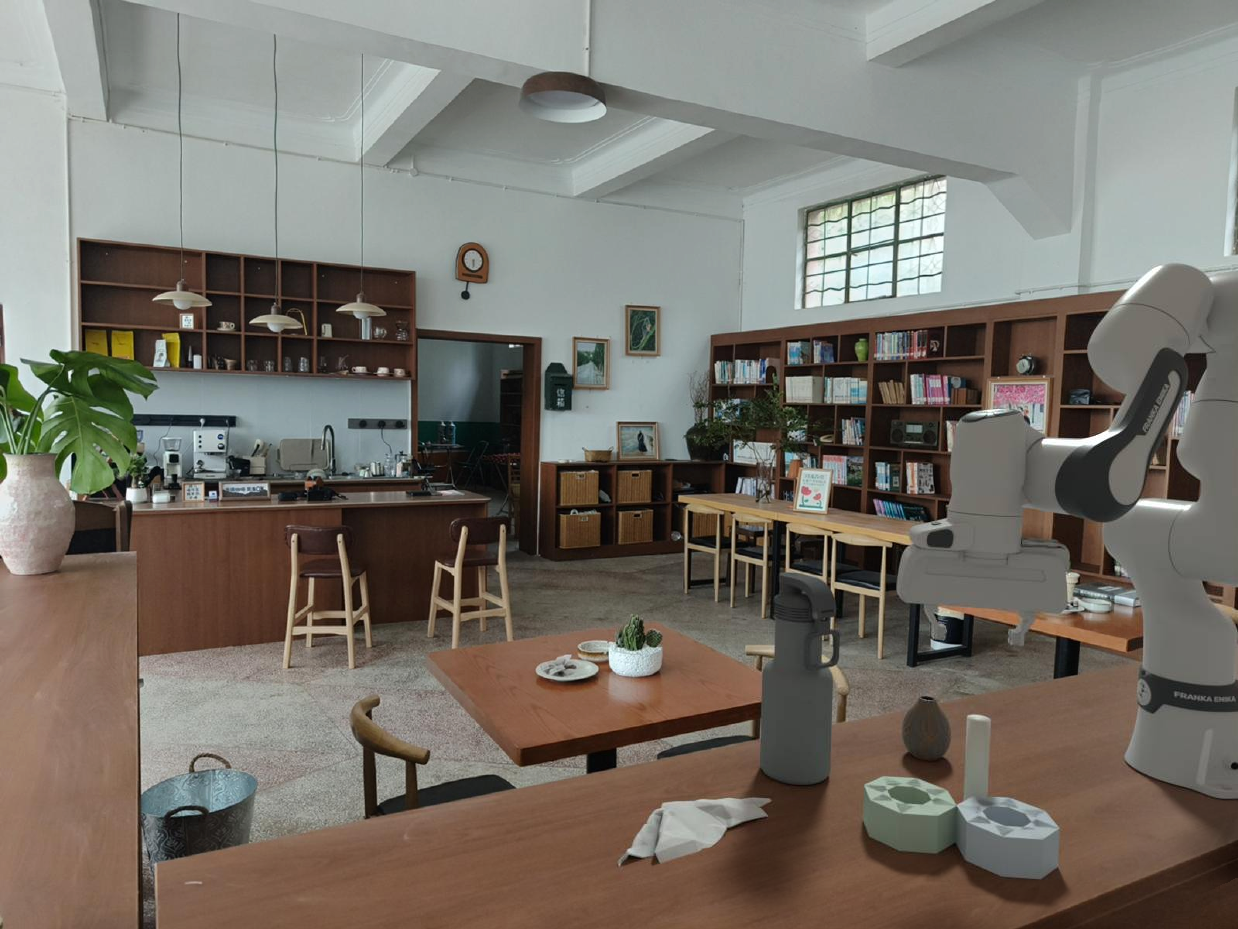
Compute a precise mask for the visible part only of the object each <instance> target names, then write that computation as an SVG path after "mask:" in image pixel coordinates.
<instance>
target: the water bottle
mask: <svg viewBox="0 0 1238 929" xmlns="http://www.w3.org/2000/svg"><path fill="white" fill-rule="evenodd" d="M778 582H779V583H780V593H778V594H776V595H775V596H774V598H773V602H774V614H773V619H774V621H775V622H774V623H775V625H774V650H773V651H774V657H773V658H772V659H770V660H769V661H767V662H766V663H765V666H764V667H763V668H762V673H761V706H760V707H761V708H760V710H761V711H760V713H761V715H760V748H759V750H760V752H759V753H760V754H759V763H760V764H759V765H760V768H761V770H762V771H763V773H764V774H765V775H766V776H768V777H769V778H771V779H773V780H775V781H777V782H781V783H784V784H787V785H796V786H807V785H808V786H809V785H815V784H818V783H821V782H823V781H824V780H826V779H827V778H828V776H829V775H830V772H831V760H832V754H831V753H832V731H833V730H832V727H833V724H832V723H833V697H834V696H833V694H834V693H833V691H834V676H833V673H832V671H831V669H830V668H832V667H835V666H836V665H837V664H838V662H839V659H840V642H841V641H840V640H841V638H840V632H839V631H838V630H836V629H833V628H831V618H835V617H836V616H837V602H836V599H835V596H834V593H833V591H832V589H831V588H830V586H829V585H828V584H827V582H825V581H824V580H822V579H820V578H819V577H816V576H811V575H809V574H803V573H802V572H801V573H799V572H793V571H792V572H788V571H787V572H786V571H785V572H784V571H783V572H779V574H778ZM828 635H831V636H832V640H833V642H832V645H833V647H832V657H831V659H829V661H827V662H823V660H822V658H823V657H822V656H823V636H828Z"/></svg>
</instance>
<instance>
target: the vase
mask: <svg viewBox="0 0 1238 929" xmlns="http://www.w3.org/2000/svg"><path fill="white" fill-rule="evenodd" d="M901 737H902V741H903V744H904V746H905V749H906V750H907V751H908V752H909V753H910V754H911V755H912V756H913V757H914V758H917V759H919V760H921V761H929V762H930V761H931V762H932V761H938V760H940V759H941V758H942V757H943V756H945V755H946V753H947V752H948V750H949V748H950V745H951V741H952V729H951V724H950V721H949V719H948V716H947V715H946V713H945V712H944V711H943V709H942V708H941V707H940V705H939V704H938V701H937V698H936V697H933V696H931V695H919V696H918V698H917V700H916V702H915V703H914V704H913V705H912V706H911V707H910V708H909V709H908V711H906V713H905V716H904V717H903V721H902V725H901Z"/></svg>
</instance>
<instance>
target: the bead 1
mask: <svg viewBox="0 0 1238 929" xmlns="http://www.w3.org/2000/svg"><path fill="white" fill-rule="evenodd" d="M862 798H863V799H862V821H863V824H864V827H865V830H866V832H867V836H868V837H869V838H872V839H873V840H875V841H878V842H880V843H882V844H884V845H886V846H888V847H890V848H893V849H895V850H896V851H899V852H906V853H907V852H909V853H922V854H935V855H936V854H938V853H940V852H942V851H943V850H945V849H947V848H949V847H951V846H952V845H953V844H956V843H955V841H956V816H957V805H958V804H957V803H956V802H955V800H954V799H953V798H952V795H951V794H950V792H949V791H948V789H945V788H942V787H940V786H939V785H938V786H937V785H935V784H932V783H929V782H927V781H925V780H922V779H921V778H917V777H901V776H880V777H878V778H877V779H874V780H871V781H870V782H868V783H865V784H864V785H863V797H862Z"/></svg>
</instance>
